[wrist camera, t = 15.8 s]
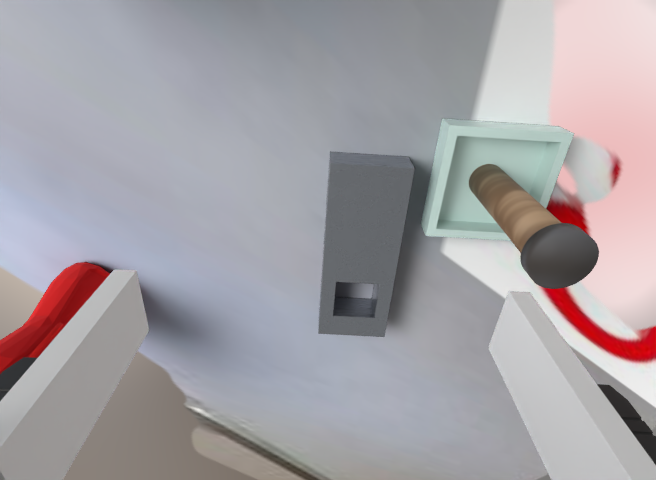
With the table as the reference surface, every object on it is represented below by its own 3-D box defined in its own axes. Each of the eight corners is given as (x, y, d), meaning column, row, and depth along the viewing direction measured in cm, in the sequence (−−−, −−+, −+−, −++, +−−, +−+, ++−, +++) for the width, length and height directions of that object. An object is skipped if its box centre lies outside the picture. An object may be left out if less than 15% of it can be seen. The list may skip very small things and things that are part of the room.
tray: (442, 118, 43) (449, 125, 40) (558, 126, 43) (574, 133, 40) (420, 223, 49) (425, 235, 46) (522, 229, 49) (533, 242, 47)
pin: (469, 157, 44) (541, 230, 29) (514, 160, 44) (610, 234, 29) (458, 199, 47) (519, 286, 32) (501, 202, 47) (583, 290, 32)
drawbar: (330, 151, 45) (330, 162, 41) (408, 156, 45) (414, 168, 41) (319, 314, 56) (318, 333, 53) (381, 317, 57) (384, 336, 53)
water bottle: (149, 277, 53) (24, 454, 32) (116, 324, 58) (-13, 510, 36) (83, 240, 51) (-103, 408, 29) (54, 293, 55) (-128, 474, 33)
